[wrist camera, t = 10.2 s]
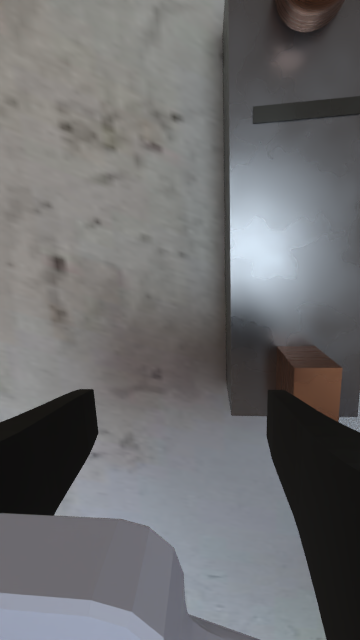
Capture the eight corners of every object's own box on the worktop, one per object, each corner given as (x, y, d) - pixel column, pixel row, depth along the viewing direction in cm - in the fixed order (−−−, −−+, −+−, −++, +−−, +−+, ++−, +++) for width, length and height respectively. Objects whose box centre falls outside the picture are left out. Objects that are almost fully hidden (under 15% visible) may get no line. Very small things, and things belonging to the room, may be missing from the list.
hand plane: (348, 17, 16) (475, -201, 8) (324, 383, 20) (393, 454, 13) (222, 33, 17) (235, -155, 9) (226, 383, 21) (237, 451, 14)
